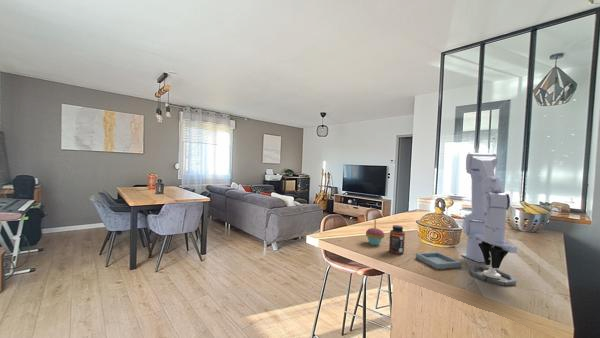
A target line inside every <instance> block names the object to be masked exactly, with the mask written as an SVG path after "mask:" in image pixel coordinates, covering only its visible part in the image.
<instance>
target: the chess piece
mask: <svg viewBox="0 0 600 338" xmlns="http://www.w3.org/2000/svg"><path fill="white" fill-rule="evenodd" d="M492 247H493V246H492ZM489 254H490V258H489V260H491V261H490V265H489V267H488V268H489V269H488V270H485V271H483V270H482V271H483V272H482V274H483V276H485V277H487V278H492V279H496V280H500V279H502V276H501V275H500V274H499V273H497V272H496V271H495V269H496V268H492V263H491V262H492V258H491V253H490V251H489Z"/></svg>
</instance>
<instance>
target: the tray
mask: <svg viewBox="0 0 600 338" xmlns="http://www.w3.org/2000/svg"><path fill="white" fill-rule="evenodd" d="M415 259H416V260H418V261H421V262H423V263H424V264H426V265H428V266H430V267H431V266H432V268H433V267H434V268H433V269H435V268H436V269H435V270H437V269H440V270H447V269H446V268H451V269H458V268H460V267H461V268H462V266H463V265H462V263H463V262H462V261H460V260H458V259H455V258H453V257H451V256H448V255H446V254H444V253H442V252H439V251H433V252H432V251H431V252H430V251H429V252H416V253H415Z"/></svg>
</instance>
